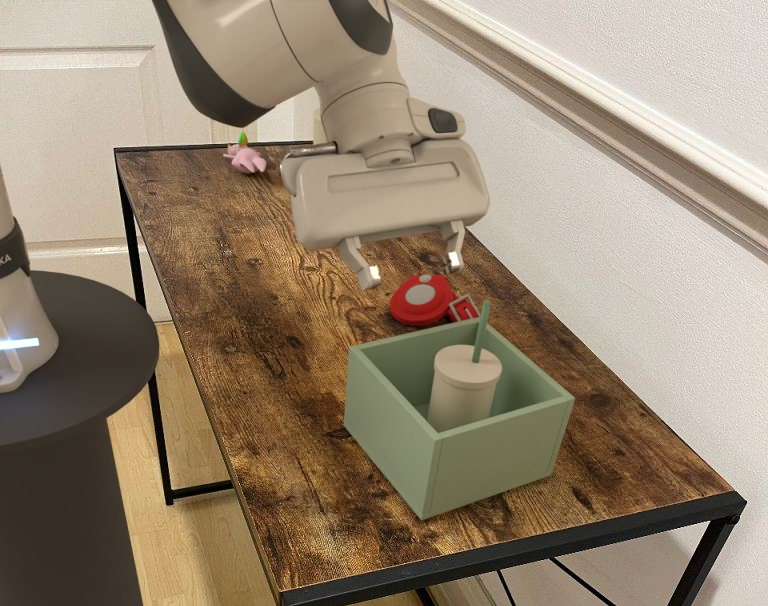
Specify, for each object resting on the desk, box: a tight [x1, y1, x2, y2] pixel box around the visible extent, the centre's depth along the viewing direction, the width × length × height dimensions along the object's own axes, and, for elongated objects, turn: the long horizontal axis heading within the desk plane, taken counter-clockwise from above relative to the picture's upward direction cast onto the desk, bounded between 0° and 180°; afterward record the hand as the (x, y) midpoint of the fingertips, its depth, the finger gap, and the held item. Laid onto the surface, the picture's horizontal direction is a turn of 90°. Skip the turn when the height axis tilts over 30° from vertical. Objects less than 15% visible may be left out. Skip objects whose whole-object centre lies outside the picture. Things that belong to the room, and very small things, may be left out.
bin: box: [343, 317, 576, 521], centre depth 77 cm, size 16×16×10 cm
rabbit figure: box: [222, 131, 267, 175], centre depth 126 cm, size 6×6×15 cm
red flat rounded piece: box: [389, 274, 481, 327], centre depth 99 cm, size 12×4×10 cm
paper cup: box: [427, 299, 502, 434], centre depth 74 cm, size 6×6×16 cm
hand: (414, 279), depth 75 cm, fingers open, 8 cm apart
